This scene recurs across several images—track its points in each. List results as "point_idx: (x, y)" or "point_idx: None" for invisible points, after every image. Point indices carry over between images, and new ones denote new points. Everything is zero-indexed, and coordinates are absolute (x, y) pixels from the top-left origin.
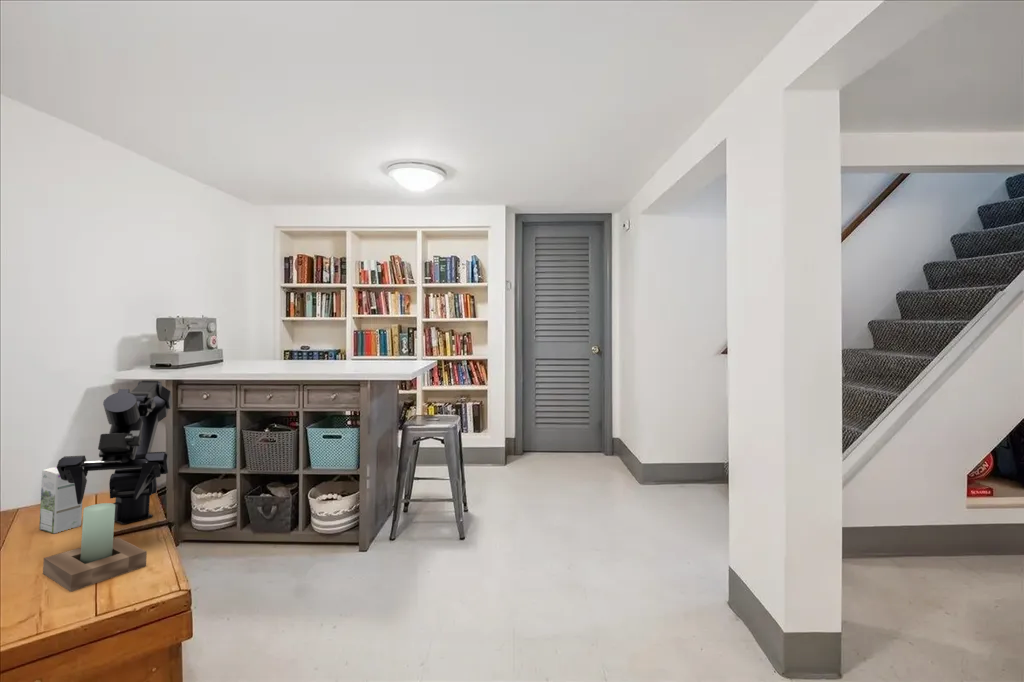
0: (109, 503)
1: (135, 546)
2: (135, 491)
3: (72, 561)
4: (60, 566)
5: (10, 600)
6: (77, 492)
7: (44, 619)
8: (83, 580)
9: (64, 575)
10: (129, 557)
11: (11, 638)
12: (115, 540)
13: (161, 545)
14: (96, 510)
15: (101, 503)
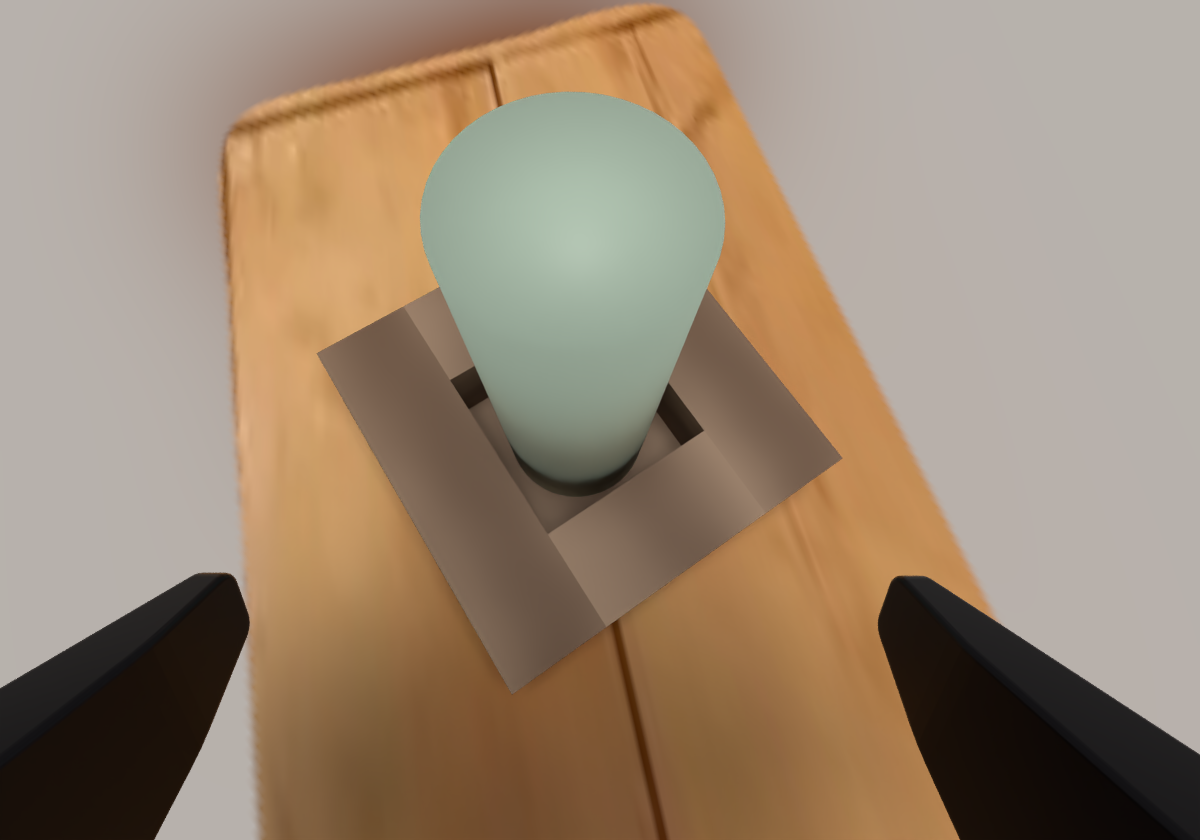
0: (496, 320)
1: (382, 459)
2: (148, 632)
3: None
4: (709, 304)
5: (818, 276)
6: (1061, 672)
7: (643, 97)
8: None
9: None
10: (402, 310)
11: (693, 28)
12: (515, 623)
13: (280, 726)
14: (579, 118)
15: (588, 346)
